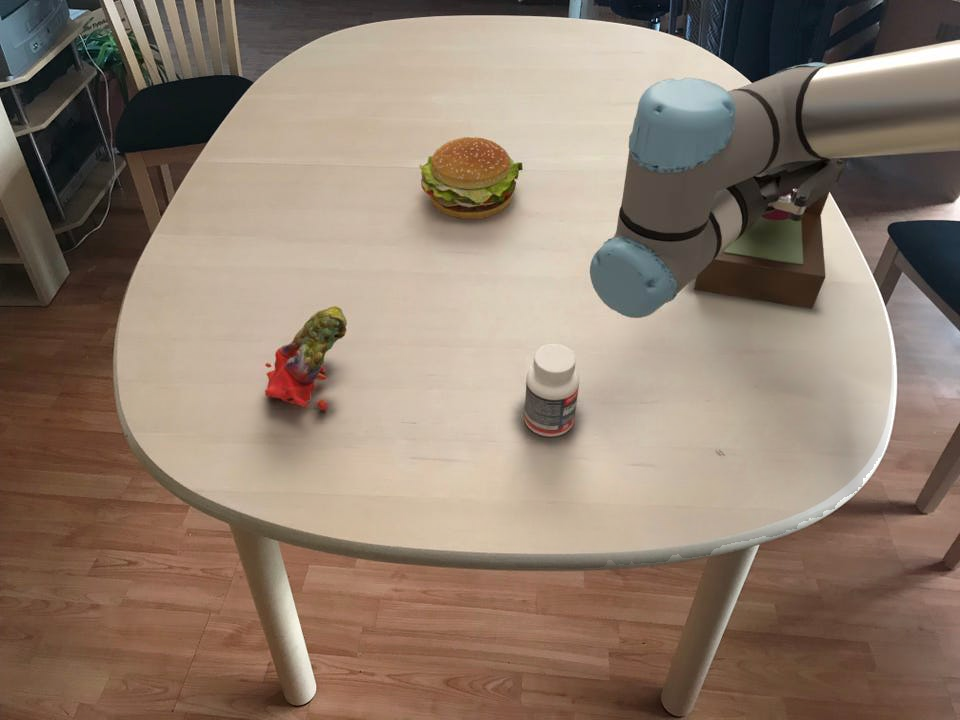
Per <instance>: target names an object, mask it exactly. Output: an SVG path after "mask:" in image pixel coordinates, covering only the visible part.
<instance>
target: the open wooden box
mask: <svg viewBox="0 0 960 720" xmlns="http://www.w3.org/2000/svg"><path fill="white" fill-rule="evenodd" d="M839 159H841V160H843V158H839ZM830 192H831V190H830V191H829V192H827V193H826V194H825V195H823V196H822V197H821V198H820V199H818V200H817V201H816V202H815V203H813V204H812V205H811V206H809V207H808V208H807V209H806V210H805V211H804V213H803V216H802V219H801V220H800V221H793V220H791V219H790V218H788V219H785V220H770V219H766V218H763V217H760V218H759V219H758V221H757V222H756V223H755V224H754V225H753V226H752V227H750V228H749V229H748V230H747V231H746V232H745V233H744V234H743V235H742V236H740V237H739V238H738V239H737V240H735V241H734V242H733V243H732V244H731V245H730V246H729V247H728V248H727V249H726V250H725V251H723V252H722V253H721V254H720V255H719V256H718V257H717V258H716V259H715V260H713V261H712V262H711V263H710V264H708V265H707V267H705V268H704V269H703V270H702V271H701V272H700V273H699V274H698V275H697V276H696V277H695V278H694V281H693V290H695V291H700V292H707V293H711V294H712V293H713V294H717V295H718V294H719V295H724V296H731V297H737V298H743V299H749V300H755V301H762V302H767V303H774V304H778V305H779V304H780V305H786V306H791V307H798V308H805V309H810V310H813V308H814V306H815V304H816V301H817V299H818V296H819V294H820V291H821V289H822V286H823V284H824V281H825V280H826V265H825V252H824V239H823V224H822V213H823V211H824V208H825V205H826V202H827V200H828V197H829V195H830Z"/></svg>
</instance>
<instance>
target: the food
mask: <svg viewBox="0 0 960 720" xmlns="http://www.w3.org/2000/svg"><path fill="white" fill-rule="evenodd" d="M419 168H420V170H421V172H420V174H421V179H420V182H421V183H420V185H421V189H422V190H423V192H424V193H426V194H427V195H428V196H429V198H430V200H431V202H432V204H433V206H434V208H436V209H437V210H439V211H441V212H442V213H444V214H446V215H447V216H450V217H454V218H460V219H465V220H467V219H470V220H471V219H482V218H484V219H485V218H487V217H490V216H493V215H495V214H498V213H501V212H502V211H503V210H504V209H506V207H507V206H509V205H510V204H511V202H512V200H513V193H514V191H515V189H516V186H517V182H516V181H517V180H518V178H519V175H520V174H519V173H520V171H523V162H515V161H514V160H513V159H512V158H511V156H509V154H508V152H507V150H506V149H505V148H503V147H502V146H501V144H498V143H497V142H494V141H493V140H490V139H487V138H483V137H477V136H475V137H471V136H465V137H459V138H456V139H453V140H449V141H446V143H443V145H441V146H440V147H439V148H437V149H436V150H435V151H434V153H433V154H432V156H430V155H429V156H428V158H427V162H426V163H425V164H423V165H421V164H420V165H419Z"/></svg>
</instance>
